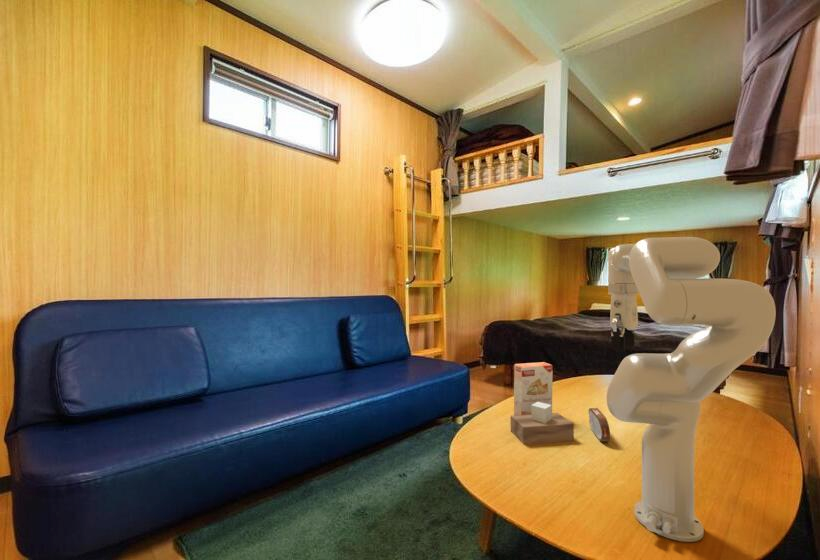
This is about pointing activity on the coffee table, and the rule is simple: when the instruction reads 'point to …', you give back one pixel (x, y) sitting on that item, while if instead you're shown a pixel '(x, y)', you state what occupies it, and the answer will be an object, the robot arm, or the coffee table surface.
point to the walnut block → (542, 429)
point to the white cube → (541, 412)
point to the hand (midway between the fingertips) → (623, 348)
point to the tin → (599, 424)
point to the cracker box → (532, 386)
